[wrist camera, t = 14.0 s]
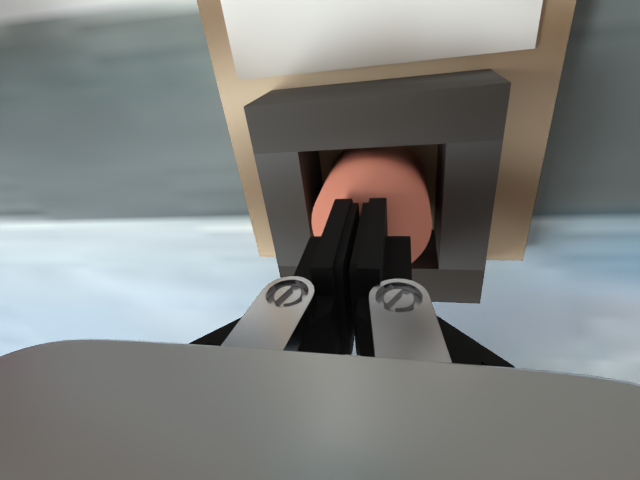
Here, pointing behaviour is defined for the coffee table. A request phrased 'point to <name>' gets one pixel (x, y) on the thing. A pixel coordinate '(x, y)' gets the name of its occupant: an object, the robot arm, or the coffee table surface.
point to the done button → (381, 191)
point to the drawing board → (393, 114)
